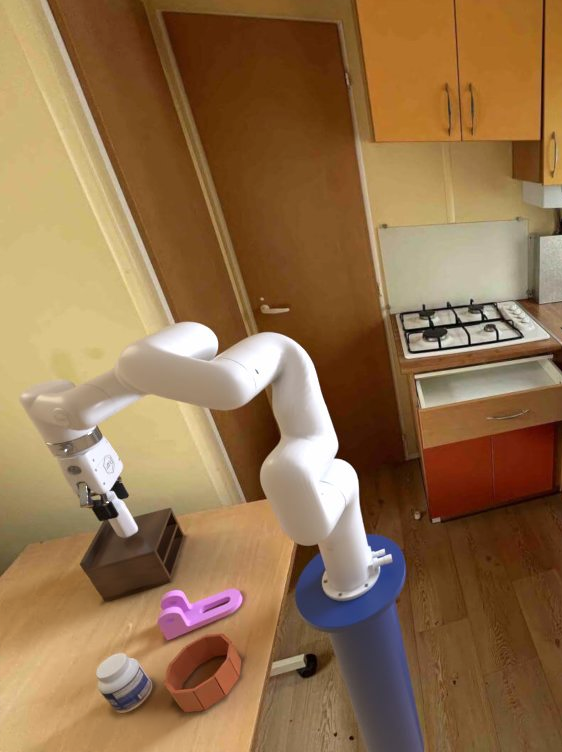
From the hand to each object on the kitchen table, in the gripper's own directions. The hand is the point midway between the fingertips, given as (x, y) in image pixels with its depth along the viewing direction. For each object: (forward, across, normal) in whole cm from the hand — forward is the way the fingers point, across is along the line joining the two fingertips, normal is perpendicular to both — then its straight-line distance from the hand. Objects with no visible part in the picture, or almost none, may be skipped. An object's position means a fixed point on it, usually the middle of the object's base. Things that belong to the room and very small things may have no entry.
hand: (114, 507), depth 91 cm
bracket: (+19, -19, -15) cm, 31 cm away
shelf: (+19, 0, 0) cm, 19 cm away
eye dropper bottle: (+7, 0, 0) cm, 7 cm away
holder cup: (+19, -34, -18) cm, 43 cm away
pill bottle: (+19, -32, -6) cm, 38 cm away
